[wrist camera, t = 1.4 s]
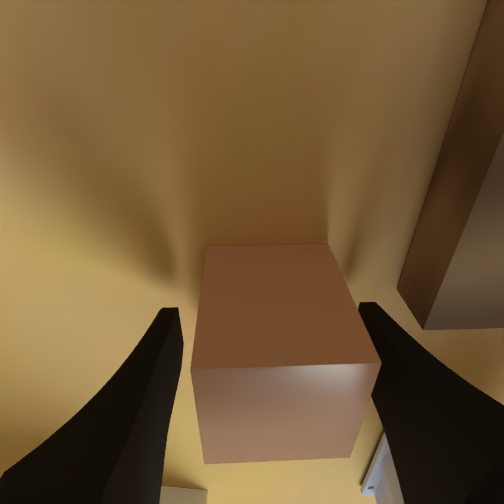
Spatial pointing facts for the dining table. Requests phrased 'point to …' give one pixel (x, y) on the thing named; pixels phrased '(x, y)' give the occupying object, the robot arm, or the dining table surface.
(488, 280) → the walnut base slab
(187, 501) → the milk
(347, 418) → the terracotta block
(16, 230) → the dining table surface
